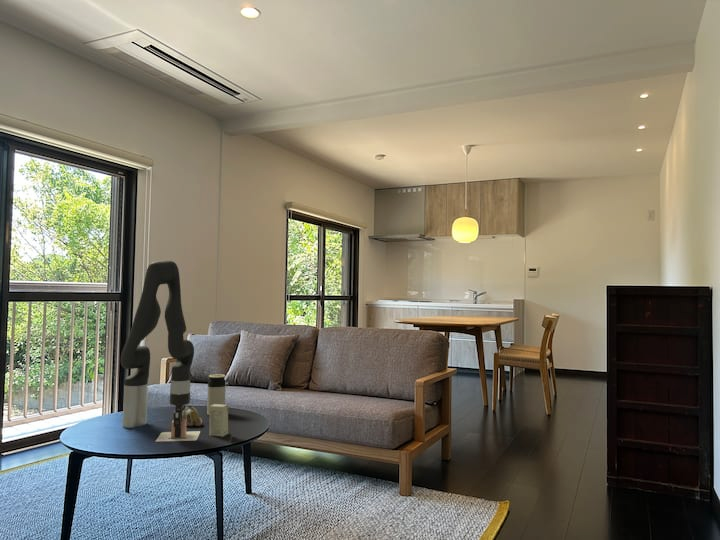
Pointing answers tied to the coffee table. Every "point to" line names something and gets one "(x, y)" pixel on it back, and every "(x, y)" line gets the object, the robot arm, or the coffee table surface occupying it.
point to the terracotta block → (183, 429)
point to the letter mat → (167, 437)
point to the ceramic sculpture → (192, 416)
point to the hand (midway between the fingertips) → (178, 435)
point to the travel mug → (216, 390)
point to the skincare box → (218, 420)
